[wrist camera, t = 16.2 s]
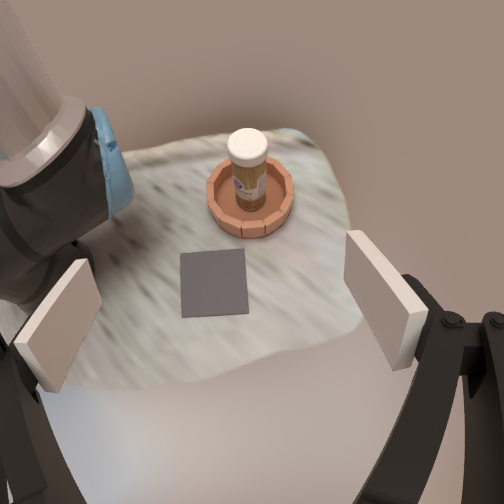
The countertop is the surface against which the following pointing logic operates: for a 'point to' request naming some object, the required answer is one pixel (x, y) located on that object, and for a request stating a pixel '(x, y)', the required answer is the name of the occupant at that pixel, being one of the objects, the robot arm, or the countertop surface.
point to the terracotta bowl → (250, 221)
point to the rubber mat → (213, 283)
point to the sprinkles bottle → (248, 167)
